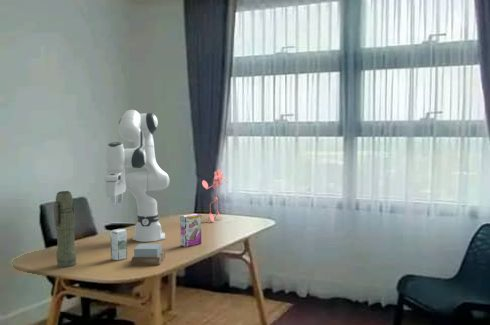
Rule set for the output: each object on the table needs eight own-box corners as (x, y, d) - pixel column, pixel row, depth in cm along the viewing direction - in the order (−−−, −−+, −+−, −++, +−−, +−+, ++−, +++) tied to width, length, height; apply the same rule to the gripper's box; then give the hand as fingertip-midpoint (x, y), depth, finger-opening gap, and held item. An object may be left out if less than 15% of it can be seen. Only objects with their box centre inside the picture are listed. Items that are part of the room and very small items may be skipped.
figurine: (199, 223, 359) (199, 170, 356) (219, 217, 381) (219, 167, 378) (219, 226, 352) (219, 171, 349) (238, 219, 374) (239, 168, 371)
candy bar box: (186, 247, 293) (185, 217, 292) (180, 246, 297) (179, 215, 295) (202, 243, 301) (201, 214, 300) (196, 242, 304) (195, 213, 303)
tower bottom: (139, 259, 272) (138, 251, 271) (165, 259, 271) (164, 251, 271) (132, 266, 259) (131, 257, 259) (159, 266, 258) (159, 257, 258)
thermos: (82, 262, 266) (79, 190, 263) (67, 268, 254) (64, 193, 252) (66, 261, 268) (63, 189, 266) (51, 267, 257) (47, 193, 254)
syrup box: (120, 256, 275) (119, 228, 274) (127, 258, 271) (126, 229, 270) (110, 259, 271) (109, 230, 270) (118, 261, 267) (117, 231, 266)
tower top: (139, 251, 270) (139, 243, 270) (162, 251, 270) (161, 243, 269) (134, 257, 259) (134, 248, 259) (157, 257, 259) (157, 248, 258)
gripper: (116, 173, 278) (117, 200, 279) (103, 178, 258) (104, 207, 259) (128, 173, 278) (129, 200, 279) (116, 177, 258) (117, 207, 259)
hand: (117, 203), depth 269 cm, fingers open, 8 cm apart
